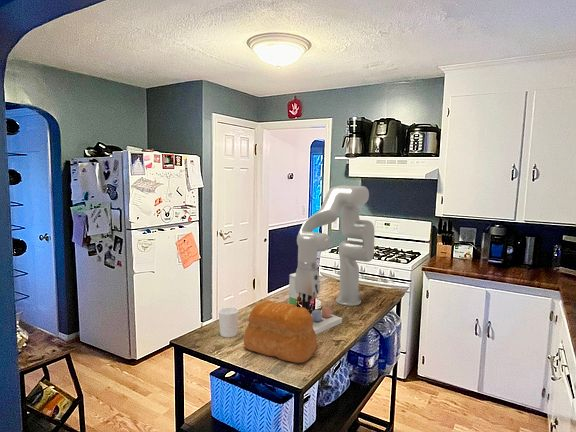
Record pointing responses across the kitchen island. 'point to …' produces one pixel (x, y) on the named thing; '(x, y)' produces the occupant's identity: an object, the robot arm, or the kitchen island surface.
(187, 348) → the kitchen island surface
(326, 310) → the rust button
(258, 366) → the kitchen island surface
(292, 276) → the skincare box
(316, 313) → the slate button
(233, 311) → the white cup
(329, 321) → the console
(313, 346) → the bread
